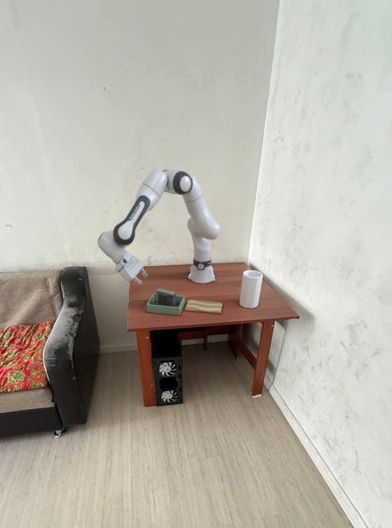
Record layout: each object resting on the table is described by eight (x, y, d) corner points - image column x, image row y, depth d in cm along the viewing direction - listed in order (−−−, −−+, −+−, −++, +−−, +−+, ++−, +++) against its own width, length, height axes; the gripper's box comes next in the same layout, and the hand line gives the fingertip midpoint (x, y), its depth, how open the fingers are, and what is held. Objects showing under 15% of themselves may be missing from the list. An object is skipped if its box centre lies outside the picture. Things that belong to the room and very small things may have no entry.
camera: (177, 307, 165) (177, 291, 159) (172, 312, 161) (172, 295, 155) (160, 303, 169) (159, 287, 163) (155, 307, 165) (153, 290, 159)
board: (188, 300, 172) (188, 299, 172) (222, 304, 170) (222, 302, 169) (185, 310, 163) (185, 309, 162) (220, 314, 160) (220, 312, 160)
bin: (153, 300, 172) (153, 293, 169) (184, 303, 170) (184, 296, 167) (146, 312, 160) (146, 304, 158) (179, 315, 158) (179, 307, 156)
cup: (243, 309, 165) (247, 278, 154) (236, 300, 174) (239, 270, 163) (261, 307, 168) (266, 276, 157) (253, 298, 176) (257, 269, 165)
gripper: (127, 257, 162) (145, 276, 167) (113, 271, 146) (134, 291, 151) (134, 250, 159) (152, 269, 164) (120, 263, 143) (142, 283, 148)
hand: (143, 279), depth 157 cm, fingers open, 8 cm apart
